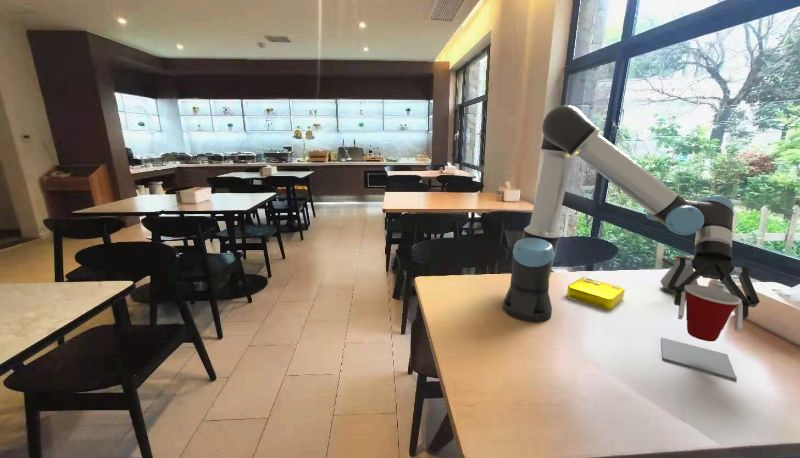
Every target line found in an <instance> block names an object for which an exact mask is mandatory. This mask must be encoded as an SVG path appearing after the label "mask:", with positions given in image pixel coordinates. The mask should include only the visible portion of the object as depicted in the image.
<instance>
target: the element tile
mask: <svg viewBox="0 0 800 458" xmlns="http://www.w3.org/2000/svg"><path fill="white" fill-rule="evenodd" d="M625 290H626V289H625V288H624V287H622V286H618V285H614V284H611V283H607V282H603V281H600V280H596V279H593V278H589V277H585V276H584V277H580V278H579V279H577V280H574V281H573V282H571V283H570V284H568V285H567V292H566V296H567V298H569V299H571V300H572V299H573V300H576V301H578V302H582V303H585V304H588V305H591V306H594V307H597V308H601V309H603V310H613V309H614V308H615V307H616V306H617V305H619V303H621V302H622V301H623V300H624V295H625Z"/></svg>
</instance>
